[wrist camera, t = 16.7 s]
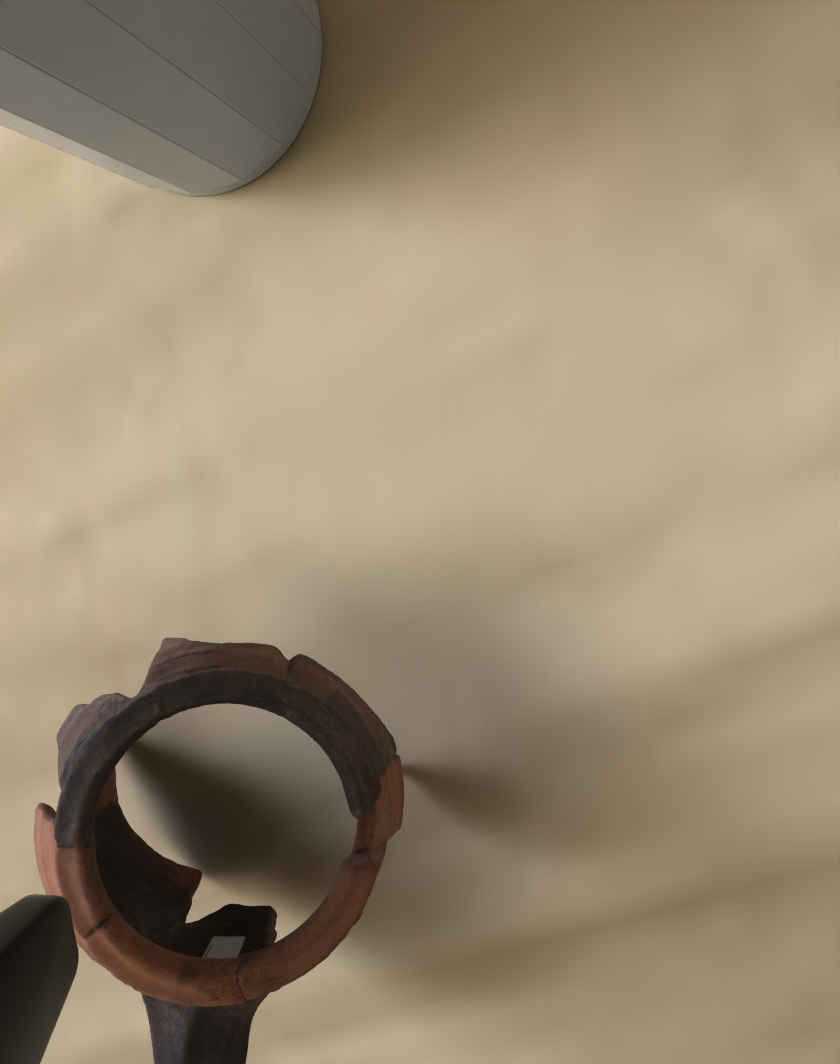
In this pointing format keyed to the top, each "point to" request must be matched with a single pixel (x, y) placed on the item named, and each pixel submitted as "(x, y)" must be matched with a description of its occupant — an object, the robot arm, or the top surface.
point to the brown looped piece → (167, 887)
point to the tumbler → (162, 84)
